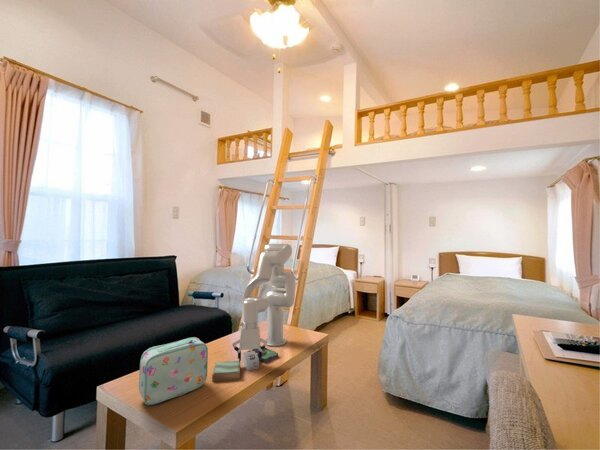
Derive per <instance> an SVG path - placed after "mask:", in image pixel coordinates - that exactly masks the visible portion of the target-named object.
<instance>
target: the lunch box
mask: <svg viewBox="0 0 600 450" xmlns="http://www.w3.org/2000/svg"><path fill="white" fill-rule="evenodd" d="M208 357H209V349H208V346H207V344H206V343H204V342H203V341H201V340H200V338H198V337H196V336H193V337H187V338H184V339H180V340H178V341H177V340H176V341H173V342H170V343H169V342H168V343H166V344H165V343H164V344H161V345H156V346H155V345H154V346H152V347H149V348H148V349H146V350H145V351H143V353H142V354H141V357H140V360H139V373H138V374H139V378H138V392H139V394H140V396H141V398H142V401H143V403H144V404H145V405H147V406H152V405H153V406H154V405H157V404H160V403H162V402H164V401H168V400H171V399H174V398H177V397H178V398H179V397H181V396H183V395H185V394H187V393H190V392H192V391H195V390H198V389H199V388H201V387H202V386H203V385H204V384H205V382H206V380H207V377H208V364H209V363H208V360H209V358H208Z"/></svg>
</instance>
